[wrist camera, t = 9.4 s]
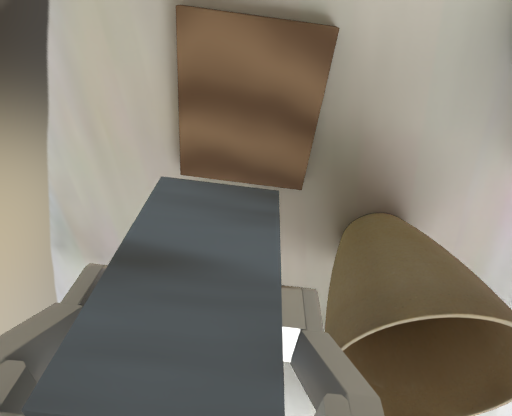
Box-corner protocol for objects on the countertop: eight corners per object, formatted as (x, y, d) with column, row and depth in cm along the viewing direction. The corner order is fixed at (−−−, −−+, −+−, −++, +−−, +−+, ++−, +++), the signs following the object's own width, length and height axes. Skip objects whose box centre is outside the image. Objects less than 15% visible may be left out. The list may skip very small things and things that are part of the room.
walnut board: (300, 182, 32) (301, 190, 31) (184, 167, 32) (180, 174, 30) (336, 26, 24) (339, 28, 23) (181, 4, 24) (175, 5, 22)
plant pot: (443, 165, 30) (573, 298, 17) (441, 270, 38) (528, 417, 25) (293, 200, 33) (304, 334, 20) (319, 290, 41) (340, 429, 28)
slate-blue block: (264, 272, 14) (255, 504, 8) (167, 260, 14) (78, 488, 8) (278, 190, 12) (284, 437, 5) (161, 176, 12) (20, 410, 5)
